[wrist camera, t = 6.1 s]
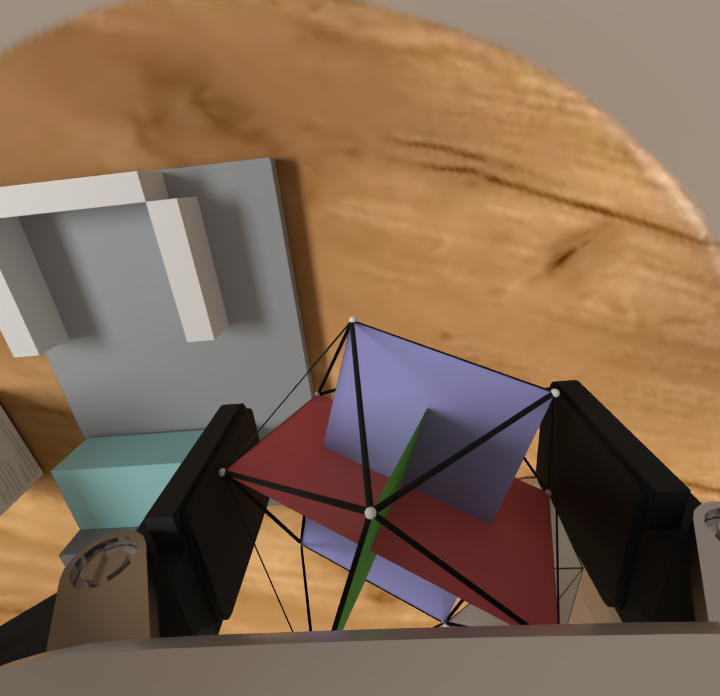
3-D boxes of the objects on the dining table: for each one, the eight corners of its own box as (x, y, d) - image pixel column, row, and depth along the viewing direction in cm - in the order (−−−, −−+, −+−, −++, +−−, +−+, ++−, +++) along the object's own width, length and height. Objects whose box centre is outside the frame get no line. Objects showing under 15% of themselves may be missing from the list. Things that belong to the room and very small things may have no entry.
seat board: (274, 158, 22) (257, 154, 19) (331, 490, 31) (325, 528, 28) (-9, 191, 23) (-74, 193, 20) (127, 502, 33) (98, 540, 29)
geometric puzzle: (183, 515, 11) (331, 945, 5) (197, 278, 8) (517, 637, 3) (380, 455, 15) (575, 659, 10) (431, 287, 13) (739, 433, 7)
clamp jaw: (250, 426, 27) (223, 482, 22) (267, 493, 30) (246, 557, 25) (86, 438, 28) (24, 494, 23) (115, 502, 31) (64, 566, 25)
